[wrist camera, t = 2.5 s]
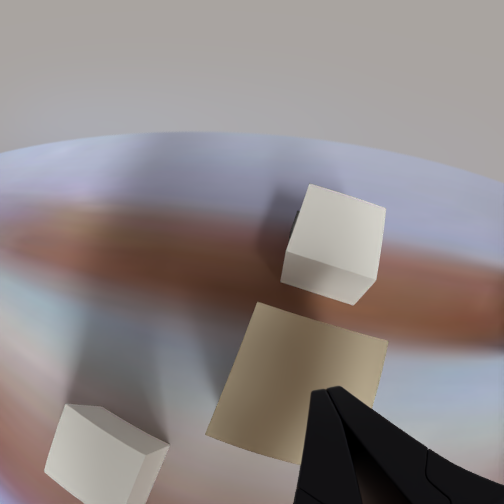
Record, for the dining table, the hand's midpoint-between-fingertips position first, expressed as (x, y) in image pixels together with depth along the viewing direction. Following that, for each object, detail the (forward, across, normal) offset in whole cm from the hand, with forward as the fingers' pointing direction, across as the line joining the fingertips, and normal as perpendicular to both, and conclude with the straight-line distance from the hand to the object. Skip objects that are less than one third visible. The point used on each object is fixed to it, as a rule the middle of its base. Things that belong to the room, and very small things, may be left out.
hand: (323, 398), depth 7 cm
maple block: (+9, 0, +9) cm, 12 cm away
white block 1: (+6, +12, +12) cm, 18 cm away
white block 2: (+16, -5, +2) cm, 17 cm away
